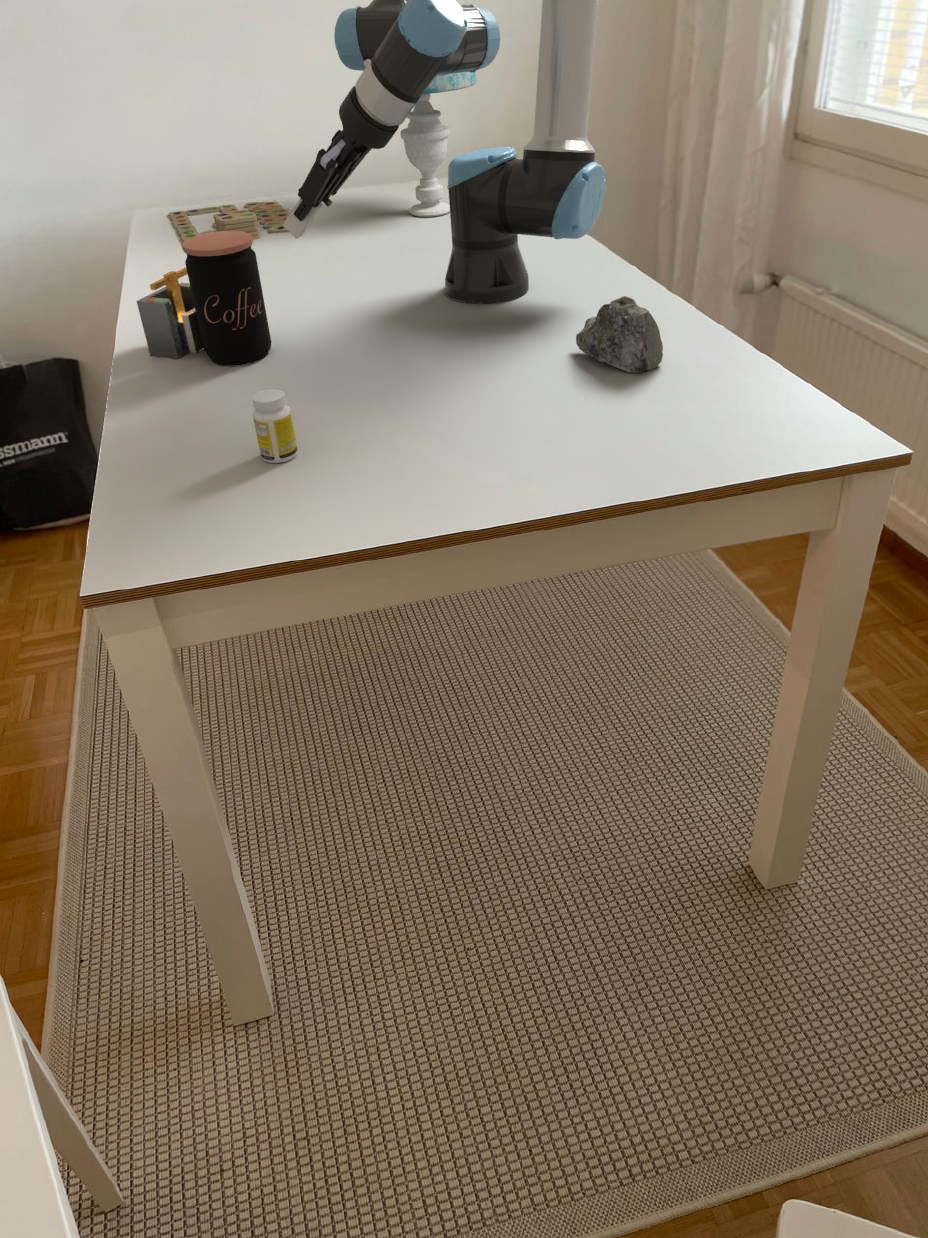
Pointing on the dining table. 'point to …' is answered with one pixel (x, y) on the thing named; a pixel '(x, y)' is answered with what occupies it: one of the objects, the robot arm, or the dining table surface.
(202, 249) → the coffee jar
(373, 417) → the dining table surface
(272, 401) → the supplement bottle
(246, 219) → the pile of dominoes
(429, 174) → the table lamp
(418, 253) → the dining table surface
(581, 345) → the mineral rock
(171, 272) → the plunger
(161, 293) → the gauge housing
